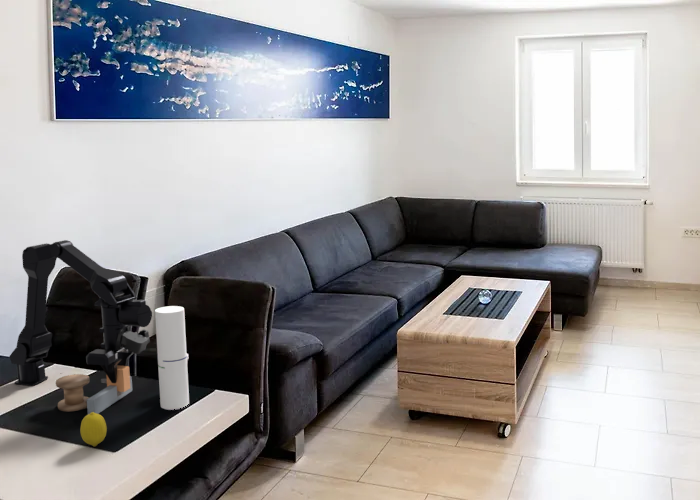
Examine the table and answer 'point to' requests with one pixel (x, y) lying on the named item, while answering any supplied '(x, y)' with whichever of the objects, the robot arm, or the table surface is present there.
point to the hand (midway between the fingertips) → (118, 380)
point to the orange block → (120, 379)
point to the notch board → (105, 398)
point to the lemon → (93, 429)
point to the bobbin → (73, 392)
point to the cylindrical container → (172, 357)
